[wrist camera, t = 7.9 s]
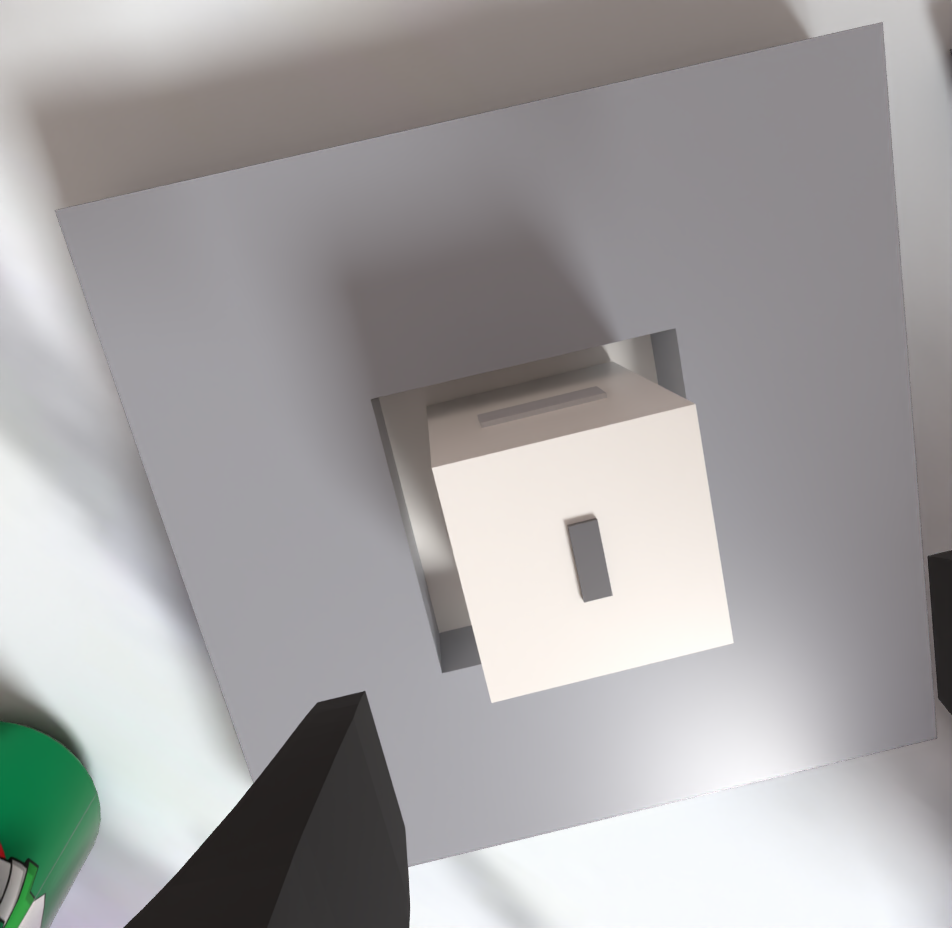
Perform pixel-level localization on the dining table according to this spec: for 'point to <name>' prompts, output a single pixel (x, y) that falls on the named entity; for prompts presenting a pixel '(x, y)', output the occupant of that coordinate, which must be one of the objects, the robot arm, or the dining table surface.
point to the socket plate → (522, 360)
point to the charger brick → (579, 526)
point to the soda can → (41, 824)
